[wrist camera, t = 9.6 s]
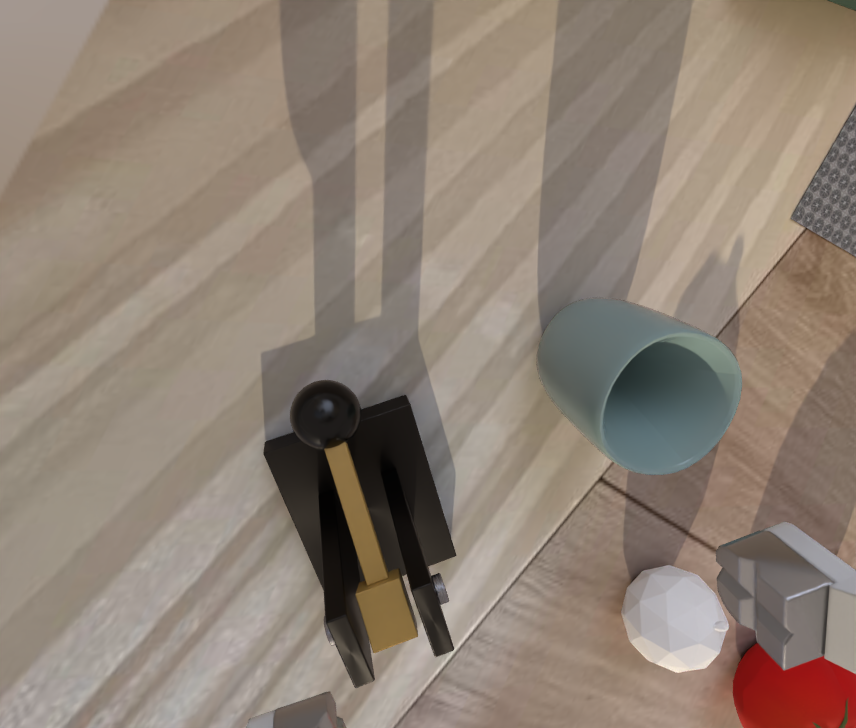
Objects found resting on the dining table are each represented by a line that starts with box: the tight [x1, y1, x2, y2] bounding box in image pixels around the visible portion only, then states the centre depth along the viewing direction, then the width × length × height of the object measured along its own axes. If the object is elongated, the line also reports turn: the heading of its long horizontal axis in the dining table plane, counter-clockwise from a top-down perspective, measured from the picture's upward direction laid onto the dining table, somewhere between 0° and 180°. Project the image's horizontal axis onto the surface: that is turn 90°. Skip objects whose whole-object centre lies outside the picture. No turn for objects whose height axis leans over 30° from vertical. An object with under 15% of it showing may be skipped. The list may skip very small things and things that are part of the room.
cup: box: [537, 297, 742, 475], centre depth 31 cm, size 8×8×10 cm
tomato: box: [733, 643, 856, 728], centre depth 47 cm, size 9×10×8 cm
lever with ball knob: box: [290, 380, 418, 653], centre depth 28 cm, size 13×4×4 cm, turn 14°
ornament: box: [621, 565, 729, 673], centre depth 41 cm, size 7×7×8 cm
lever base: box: [264, 395, 456, 688], centre depth 31 cm, size 12×9×12 cm
